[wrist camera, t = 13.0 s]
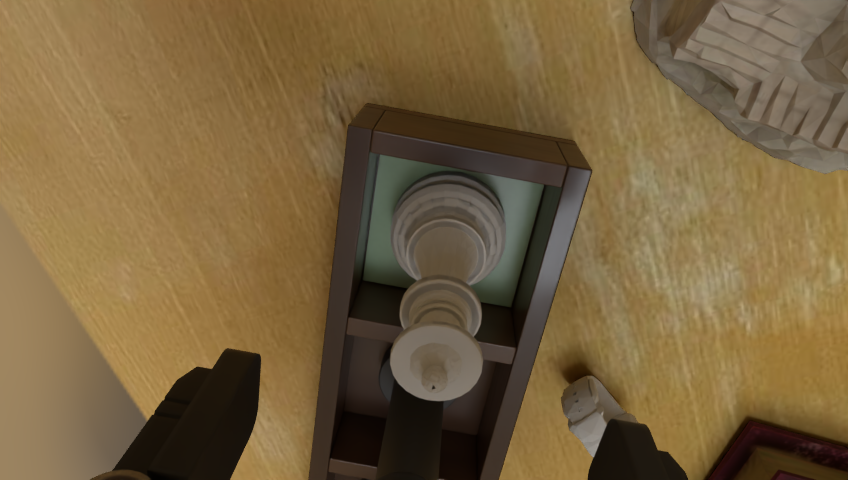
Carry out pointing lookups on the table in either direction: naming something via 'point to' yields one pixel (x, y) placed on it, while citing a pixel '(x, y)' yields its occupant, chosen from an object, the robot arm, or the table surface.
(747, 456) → the book
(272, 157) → the table surface
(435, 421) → the pawn
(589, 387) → the white ring
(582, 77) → the table surface
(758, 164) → the table surface
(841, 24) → the ceramic cottage
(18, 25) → the table surface
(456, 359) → the chess piece
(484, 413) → the rack
